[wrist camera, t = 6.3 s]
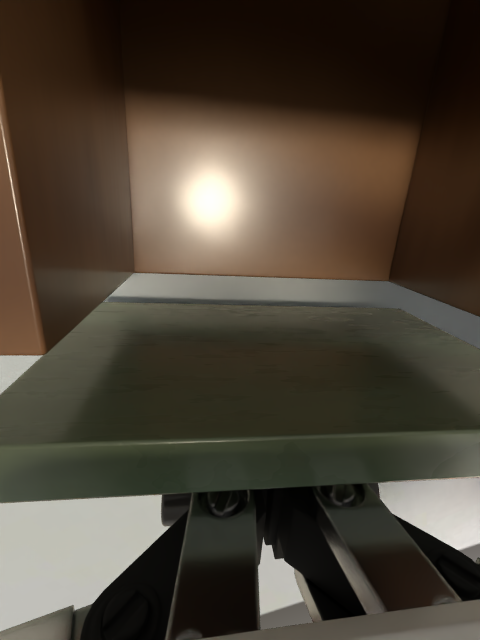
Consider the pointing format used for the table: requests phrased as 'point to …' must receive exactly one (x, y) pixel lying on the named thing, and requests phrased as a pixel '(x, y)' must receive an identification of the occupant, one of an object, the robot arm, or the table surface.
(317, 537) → the robot arm
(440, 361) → the drawer
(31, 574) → the table surface
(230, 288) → the table surface
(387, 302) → the table surface
